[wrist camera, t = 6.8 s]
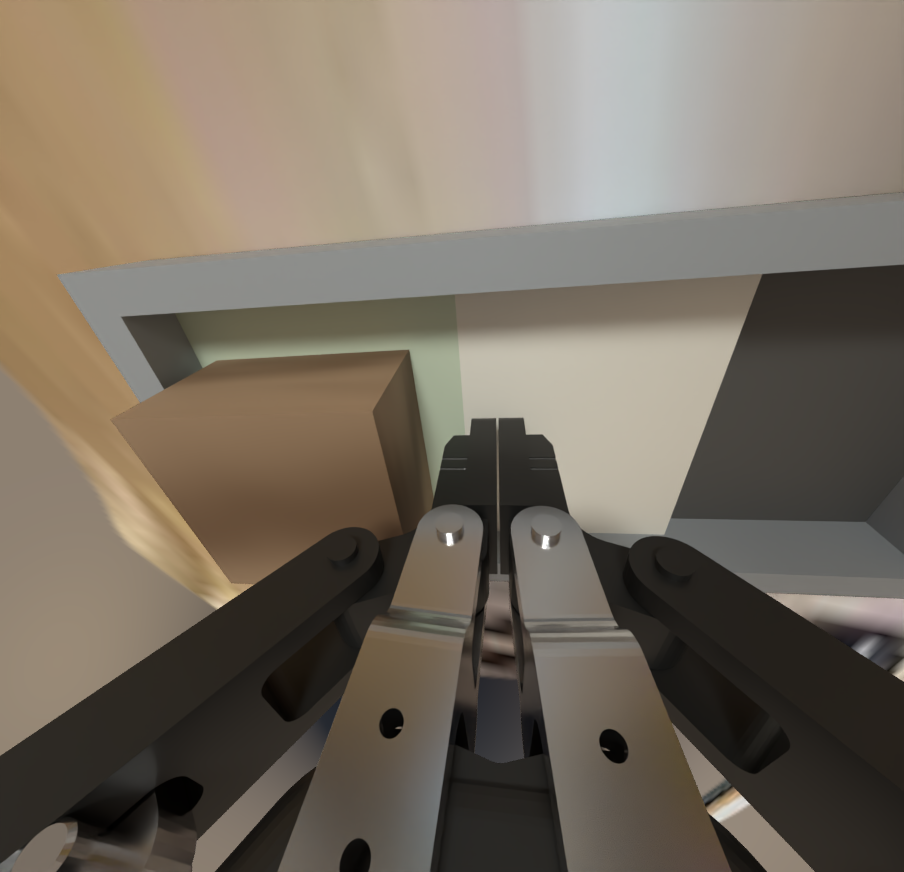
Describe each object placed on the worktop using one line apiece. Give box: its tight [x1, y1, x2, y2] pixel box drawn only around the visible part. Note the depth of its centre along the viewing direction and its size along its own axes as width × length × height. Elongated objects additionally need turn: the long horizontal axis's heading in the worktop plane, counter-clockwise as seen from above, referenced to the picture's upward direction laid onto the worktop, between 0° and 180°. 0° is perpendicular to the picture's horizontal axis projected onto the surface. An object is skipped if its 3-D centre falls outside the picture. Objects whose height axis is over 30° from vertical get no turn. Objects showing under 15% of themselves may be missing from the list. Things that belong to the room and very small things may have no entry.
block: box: [110, 350, 434, 584], centre depth 10 cm, size 6×6×4 cm
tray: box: [57, 192, 904, 599], centre depth 10 cm, size 11×24×2 cm, turn 95°
